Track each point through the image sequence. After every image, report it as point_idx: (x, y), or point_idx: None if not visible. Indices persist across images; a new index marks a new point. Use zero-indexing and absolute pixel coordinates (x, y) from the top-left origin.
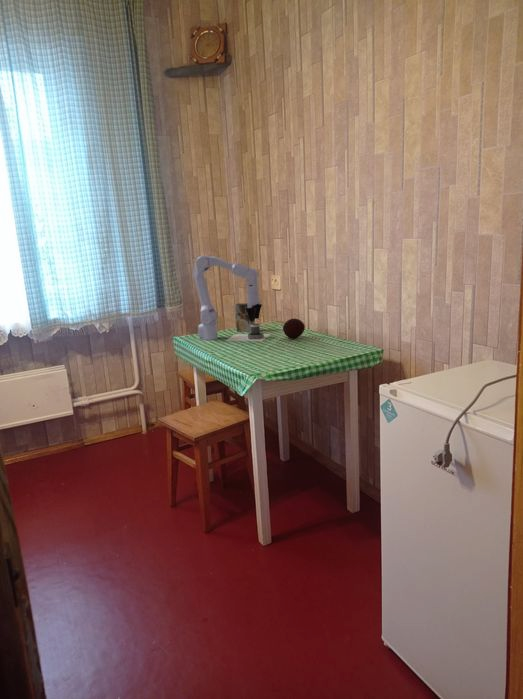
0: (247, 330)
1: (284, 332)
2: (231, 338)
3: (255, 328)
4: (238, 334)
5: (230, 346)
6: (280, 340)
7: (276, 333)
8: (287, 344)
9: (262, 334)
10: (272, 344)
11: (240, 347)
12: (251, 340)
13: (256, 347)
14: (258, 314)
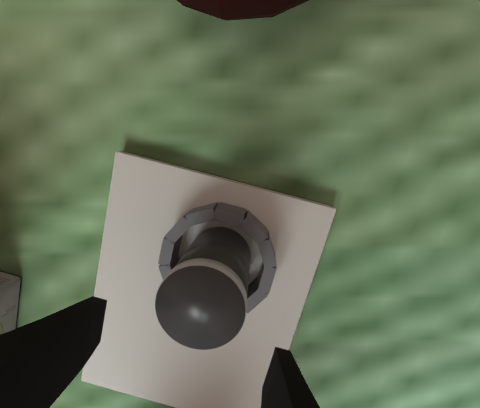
0: (2, 315)
1: (285, 10)
2: (203, 398)
3: (247, 288)
4: (89, 362)
5: (377, 391)
6: (293, 74)
7: (37, 111)
8: (461, 12)
9: (242, 214)
10: (416, 133)
11: (429, 338)
12: (303, 282)
13: (472, 242)
14: (69, 329)
